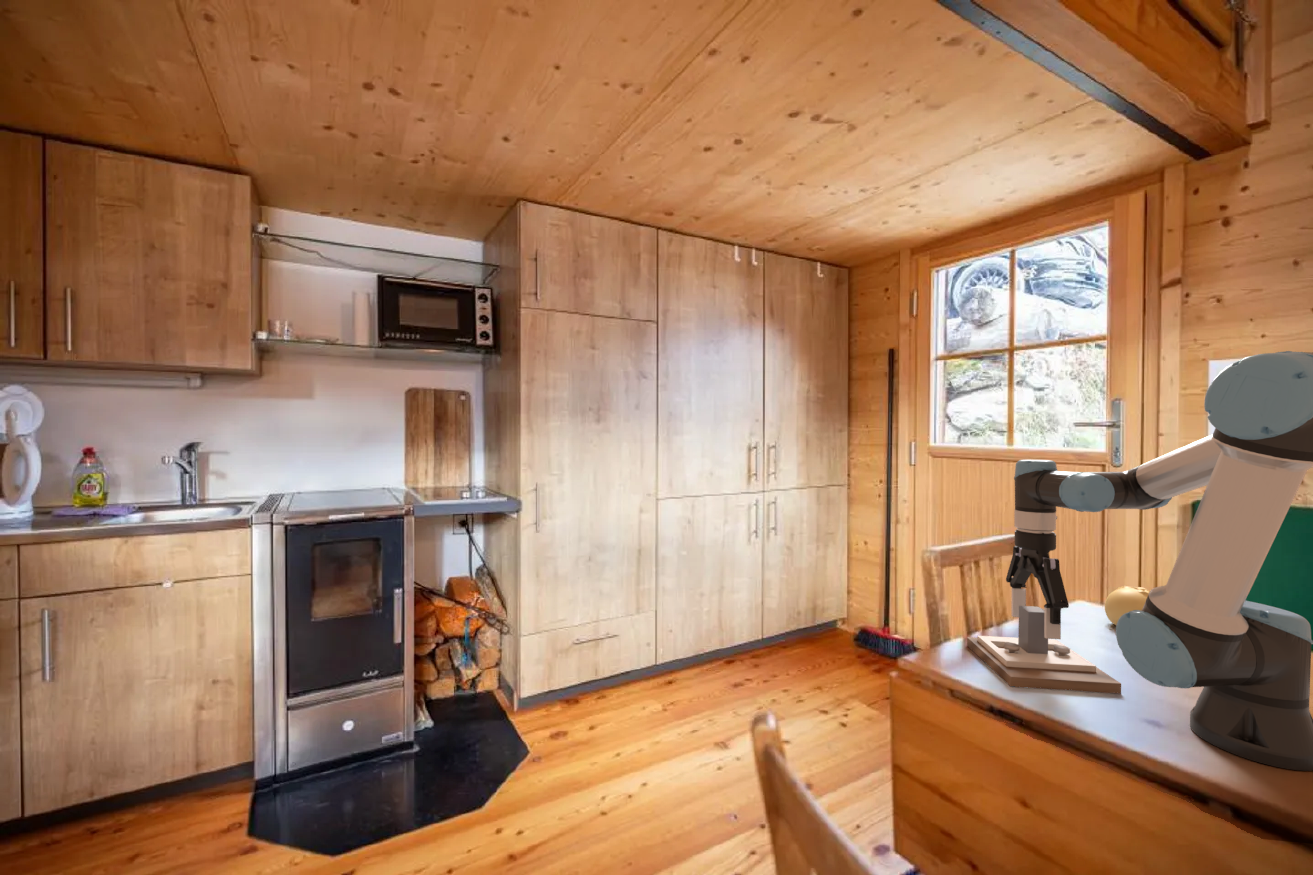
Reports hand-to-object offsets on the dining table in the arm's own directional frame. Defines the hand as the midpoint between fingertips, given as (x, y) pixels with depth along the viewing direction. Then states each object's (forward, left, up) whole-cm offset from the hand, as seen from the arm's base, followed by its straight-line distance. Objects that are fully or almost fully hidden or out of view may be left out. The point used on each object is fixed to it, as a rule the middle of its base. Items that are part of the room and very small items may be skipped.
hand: (1034, 627), depth 120 cm
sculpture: (+28, -38, -9) cm, 48 cm away
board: (-1, 0, -8) cm, 8 cm away
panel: (0, 0, -6) cm, 6 cm away
